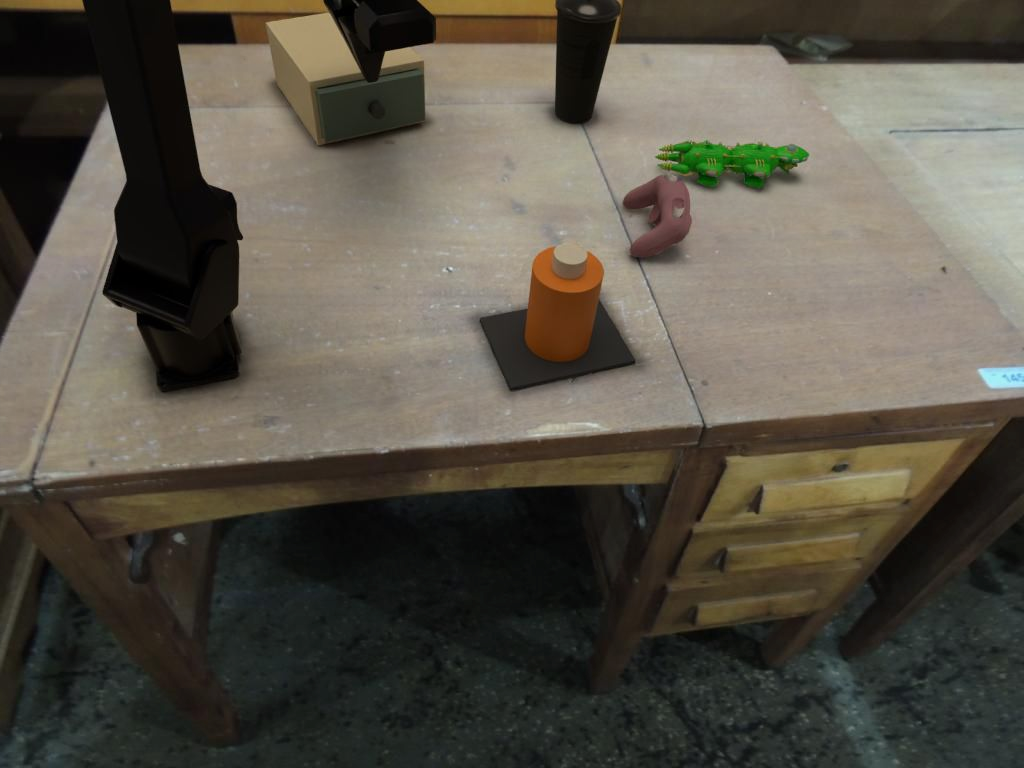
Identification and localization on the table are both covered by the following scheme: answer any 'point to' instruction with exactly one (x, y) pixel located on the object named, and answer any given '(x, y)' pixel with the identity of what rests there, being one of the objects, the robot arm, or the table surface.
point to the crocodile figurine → (731, 160)
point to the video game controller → (661, 213)
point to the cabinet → (322, 64)
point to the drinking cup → (581, 54)
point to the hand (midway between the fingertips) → (371, 80)
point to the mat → (533, 370)
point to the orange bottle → (562, 302)
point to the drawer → (371, 104)
